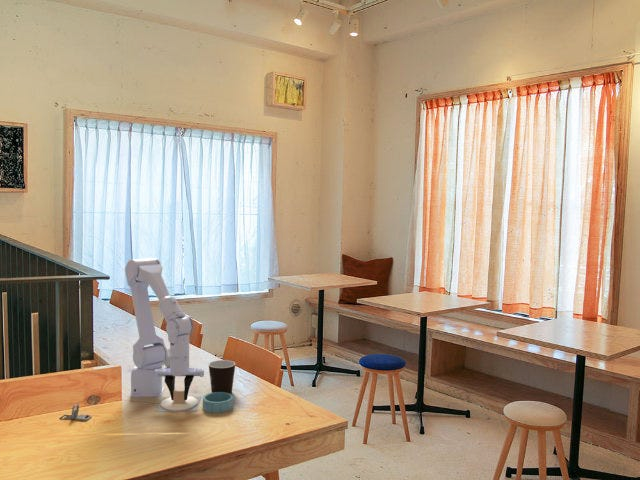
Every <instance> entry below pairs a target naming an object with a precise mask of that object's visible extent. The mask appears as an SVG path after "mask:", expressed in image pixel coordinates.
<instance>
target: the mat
mask: <svg viewBox="0 0 640 480" xmlns="http://www.w3.org/2000/svg"><path fill="white" fill-rule="evenodd" d="M169 397H170V396H163V397H162V399H161V401H160V402H159V405H158V407H157V409H156V410H155V412H156V413H169V412H170V413H176V412H179V413H181V412H189V413H190V412H192V413H193V412H198V409H199V406H200V403H201V400H202V396H193V397H194V398H196V399H197V400H198V404H197V405H196V406H195V407H193V408H191V409H187V410H181V411H171V410H166V409H164V408H162V407H161V402H162V401H163V400H164V399H167V398H169Z"/></svg>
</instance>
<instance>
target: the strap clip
mask: <svg viewBox="0 0 640 480" xmlns="http://www.w3.org/2000/svg"><path fill="white" fill-rule="evenodd" d="M79 410H80V405H79V403H77V404H76V403H75V404H74V405H72V409H71V414H63V415H62V416H61V417H59V418H58V419H59V420H60V421H61V420H62V421H63V420H64V421H72V420H74V421H79V422H87V421H89V420H91V419H92V415H89V414H79Z"/></svg>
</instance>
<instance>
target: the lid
mask: <svg viewBox="0 0 640 480" xmlns="http://www.w3.org/2000/svg"><path fill="white" fill-rule="evenodd" d="M184 393H185V387H175V389H174V391H173V400H171V396H168V397H169V398H167V399H164V400H163V401H162V400H161V401H162V402H161V401H160V403H161V407H162V408H164V409H166V410H171V411H181V410H187V409H191V408H193V407H195V406H196V405H197V404H198V400H197V399H196V398H194V397H195V396H191V395H188V398H187V400H184Z"/></svg>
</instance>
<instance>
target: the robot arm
mask: <svg viewBox="0 0 640 480" xmlns="http://www.w3.org/2000/svg"><path fill="white" fill-rule="evenodd" d="M124 271H125V278H126V283H127V286H128V287H130V293H131V299H132V303H133V310H134V314H135V315H134V316H135V321H136V325H137V326H136V327H137V332H138V336H139V337H138V338H137V340H136V342H134V344H133V345H132V361H133V363H134V365H135V366H133V367H132V369H131V371H130V372H131V373H130V397H134V398H135V397H136V398H137V397H138V398H139V397H144V398H145V397H161V396H162V395H163V393H164V391H165V389H166V387H167V389H168V391H169V394H170V397H171V400H173V391H174V389H175V388H176V387H175V385H176V377H184V378H183V384H184V386H183V387H184V388H185V393H184V400H187V398H188V396H189V391H190V387H191V385H192V382H193V380H194V378H195V377H200V378H202V377H204V375H205V369H204V368H194V367H190V334H192V333H193V331H194V321H193V319H192V317H191V316H189V315H188V314H187V313H185V312H184V311H183V310H182V308H181V306H180V303H178V300H177V299H176V297H174V296H173V295H172V296H171V295H170V293H169V290H168V288H167V285H166V283H165V281H164V279H163V278H164V277H163V276H162V272H163V266H162V264H161V261H160V260H159V259H158V258H157V257H149V258H136V259H134V258H131V259H129V260H128V261H127V262H126V266H125V268H124ZM148 287H150V288H151V290H152V292H153V293H154V294H155V296H156V297H157V299H158V300H159V302H158V305H157V306H158V309H159V311H160V313H161V315H162V316H163V318H164V320H165V322H166V326H165V330H166V331H165V332H166V333H167V337H168V338H167V341H168V342H169V349H170V368H167V367H166V368H163V366H165V365H164V362H165V361H166V360H167V357H168V351H167V350H168V348H167V347H166V345H165V341H164V338H162V337H160V336H159V335H157V332H156V328H155V322H154V317H153V312H152V306H151V301H150V295H149V290H148ZM163 377H164V384H166V387H165V386H163Z"/></svg>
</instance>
